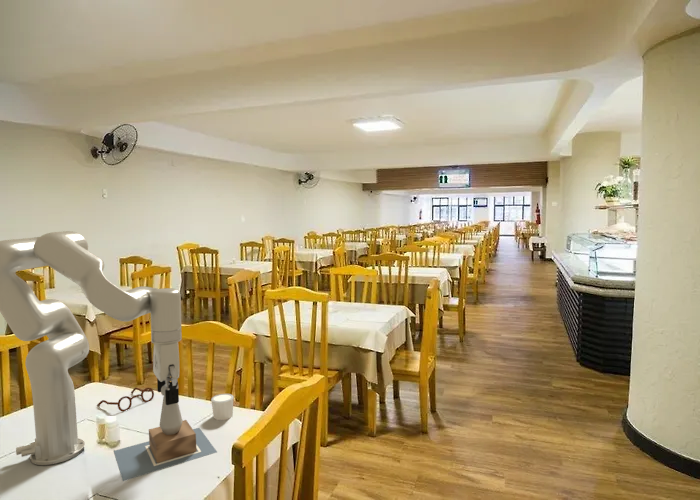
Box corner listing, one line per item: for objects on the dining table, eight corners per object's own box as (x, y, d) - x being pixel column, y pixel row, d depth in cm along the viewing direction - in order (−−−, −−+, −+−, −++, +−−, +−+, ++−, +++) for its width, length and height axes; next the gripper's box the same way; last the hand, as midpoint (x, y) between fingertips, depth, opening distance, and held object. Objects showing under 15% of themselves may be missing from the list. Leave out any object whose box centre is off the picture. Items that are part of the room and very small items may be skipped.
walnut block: (157, 463, 119) (156, 444, 118) (149, 446, 127) (148, 429, 127) (196, 451, 124) (195, 433, 124) (186, 436, 133) (186, 419, 132)
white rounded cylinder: (238, 418, 146) (238, 397, 145) (219, 426, 141) (218, 404, 140) (226, 412, 151) (226, 391, 150) (207, 419, 146) (206, 398, 145)
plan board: (123, 484, 111) (122, 480, 111) (113, 454, 125) (113, 450, 125) (217, 455, 124) (217, 451, 124) (199, 430, 138) (199, 427, 138)
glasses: (119, 414, 151) (118, 399, 151) (97, 406, 158) (96, 392, 157) (155, 400, 162) (154, 386, 162) (132, 392, 169) (131, 379, 168)
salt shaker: (167, 438, 121) (165, 391, 120) (155, 432, 125) (153, 386, 124) (187, 430, 126) (185, 384, 125) (175, 424, 129) (173, 379, 128)
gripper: (145, 329, 128) (146, 389, 130) (158, 345, 114) (160, 412, 115) (173, 326, 132) (174, 384, 134) (189, 341, 118) (190, 405, 119)
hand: (167, 397), depth 124 cm, fingers open, 9 cm apart
